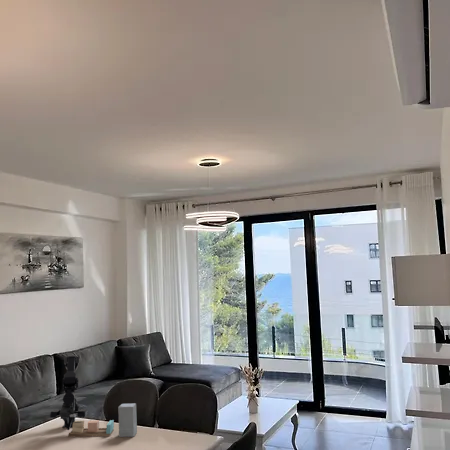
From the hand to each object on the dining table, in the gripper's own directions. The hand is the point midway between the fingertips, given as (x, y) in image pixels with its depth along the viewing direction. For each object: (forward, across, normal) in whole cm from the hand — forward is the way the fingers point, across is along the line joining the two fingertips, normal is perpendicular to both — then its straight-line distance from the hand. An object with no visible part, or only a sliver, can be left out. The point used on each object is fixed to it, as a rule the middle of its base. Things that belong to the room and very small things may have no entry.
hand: (68, 430), depth 248 cm
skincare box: (+2, +32, -4) cm, 33 cm away
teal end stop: (+1, +22, 0) cm, 22 cm away
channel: (+2, +12, 0) cm, 12 cm away
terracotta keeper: (+1, +13, 0) cm, 13 cm away
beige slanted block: (+1, +5, 0) cm, 5 cm away
